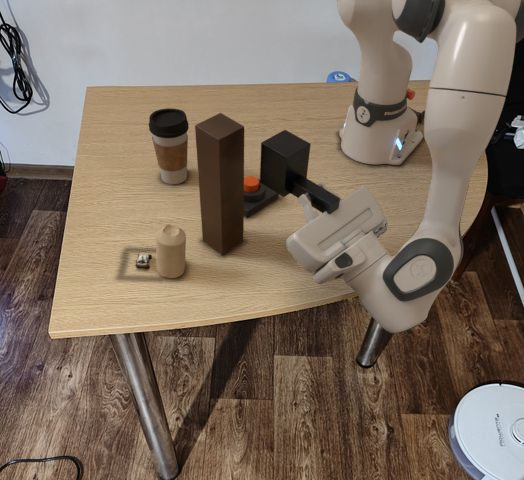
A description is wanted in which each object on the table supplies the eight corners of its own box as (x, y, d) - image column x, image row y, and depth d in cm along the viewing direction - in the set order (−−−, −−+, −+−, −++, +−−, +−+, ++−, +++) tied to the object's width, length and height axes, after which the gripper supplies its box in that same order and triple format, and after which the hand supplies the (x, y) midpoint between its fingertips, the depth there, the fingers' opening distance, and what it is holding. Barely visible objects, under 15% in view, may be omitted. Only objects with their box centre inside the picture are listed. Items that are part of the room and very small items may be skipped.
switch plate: (253, 182, 128) (253, 169, 125) (278, 198, 124) (279, 185, 122) (221, 200, 123) (221, 187, 120) (247, 217, 120) (247, 204, 117)
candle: (161, 281, 107) (160, 242, 99) (153, 261, 110) (151, 222, 102) (188, 275, 109) (190, 236, 101) (179, 256, 112) (180, 217, 104)
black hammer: (282, 169, 103) (285, 129, 96) (344, 206, 97) (352, 166, 90) (259, 182, 100) (261, 142, 94) (322, 221, 94) (328, 181, 88)
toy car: (151, 256, 111) (150, 249, 110) (148, 271, 109) (147, 263, 107) (138, 256, 111) (137, 248, 110) (135, 270, 109) (134, 263, 107)
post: (223, 228, 118) (220, 112, 97) (243, 242, 115) (244, 126, 94) (202, 241, 115) (194, 125, 94) (222, 255, 112) (218, 139, 92)
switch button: (250, 180, 123) (250, 173, 121) (262, 187, 121) (262, 181, 120) (239, 187, 121) (239, 180, 120) (250, 194, 120) (250, 188, 118)
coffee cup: (186, 190, 125) (181, 129, 113) (150, 184, 126) (141, 123, 114) (196, 168, 130) (192, 108, 118) (162, 163, 131) (154, 102, 119)
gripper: (402, 219, 99) (356, 157, 98) (328, 275, 90) (277, 207, 89) (381, 234, 104) (338, 175, 104) (310, 289, 95) (262, 224, 95)
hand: (309, 190), depth 96 cm, fingers closed on black hammer, 2 cm apart
